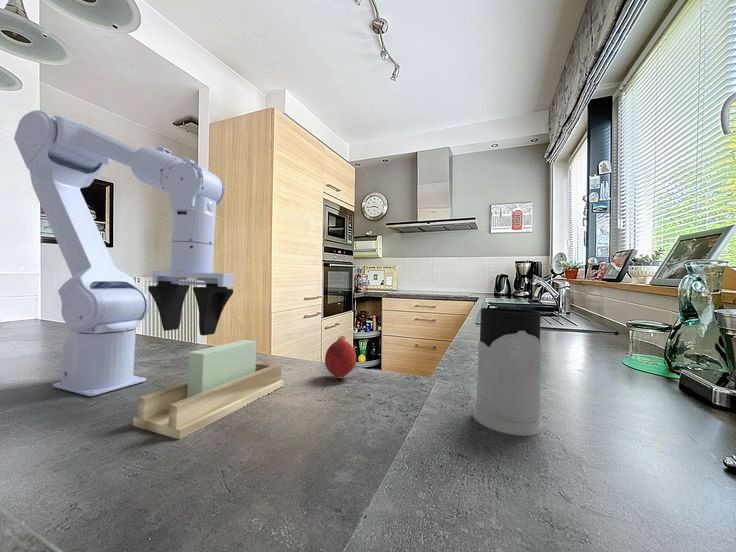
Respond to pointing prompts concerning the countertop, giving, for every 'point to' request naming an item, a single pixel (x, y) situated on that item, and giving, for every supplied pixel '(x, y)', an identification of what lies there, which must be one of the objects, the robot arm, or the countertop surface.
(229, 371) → the door panel
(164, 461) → the countertop surface
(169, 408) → the floor track
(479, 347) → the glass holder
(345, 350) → the onion
